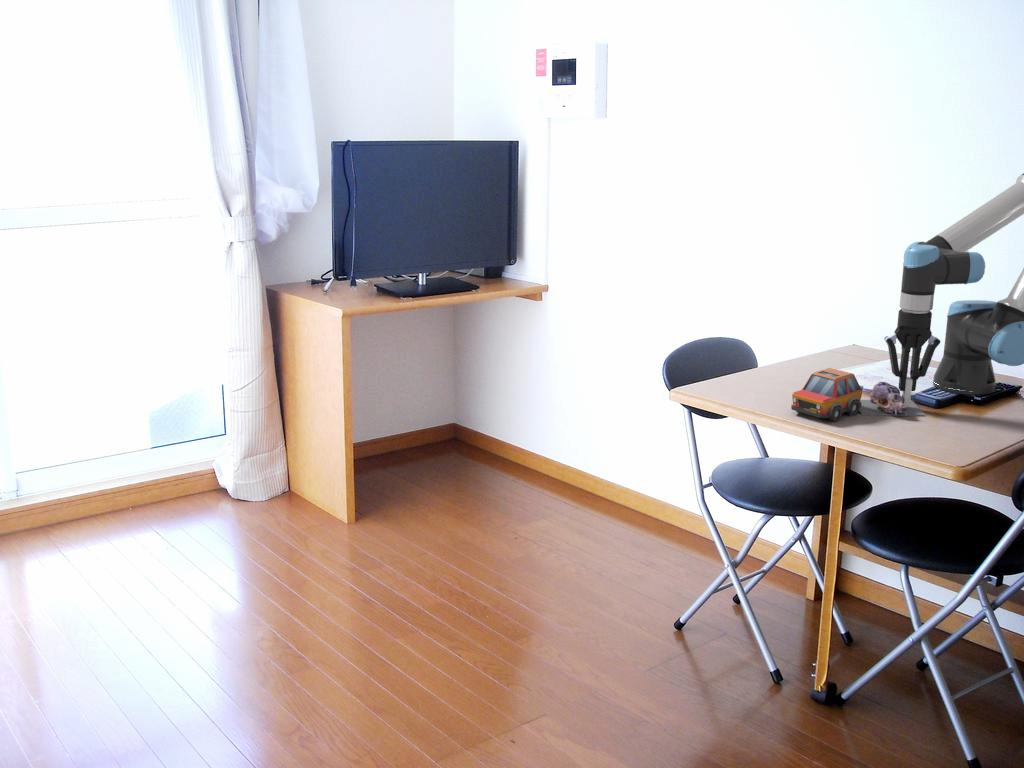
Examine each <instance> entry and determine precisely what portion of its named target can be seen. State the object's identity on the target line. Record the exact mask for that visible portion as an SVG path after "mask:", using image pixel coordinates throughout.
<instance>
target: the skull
mask: <svg viewBox="0 0 1024 768" xmlns="http://www.w3.org/2000/svg"><path fill="white" fill-rule="evenodd" d="M869 397H870V399H869V400H870V401H871V402H872V403H874V404H877V405H878V406H880V407H881V408H883V409H884V411H886V412H890V413H892V414H893V411H895V414H897V411H899V413H906V415H907V411H908V407H907V406H906V405H904V404H903V401H902V399H901V391H900V390H899V387H897V386H895V385H893V384H890V383H889V382H887V381H879V382H878V383H876V384H875V385H874V386H873V388H872V390H871V391H870V393H869Z"/></svg>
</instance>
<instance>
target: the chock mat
mask: <svg viewBox="0 0 1024 768" xmlns="http://www.w3.org/2000/svg"><path fill="white" fill-rule="evenodd" d="M860 402H861V403H862V404H861V407H860V408H859V410H858V413H860V415H861V416H889V417H890V416H892V417H893V416H895V417H897V416H898V417H926V413H924V412H923V411H922V410H921V409H920V407H918V405H917V404H916V403H915V402H914V401H913V400H910V405H906V406H907V407H908V411H907V415H906V413H899V411H897V414H895V411H893V414H892V413H890V412H886V411H884V409H883V408H881V407H880V406H878V405H877V404H874V403H872V402H871V401H870V399H861V400H860Z"/></svg>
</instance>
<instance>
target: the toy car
mask: <svg viewBox="0 0 1024 768" xmlns="http://www.w3.org/2000/svg"><path fill="white" fill-rule="evenodd" d="M863 389H864V386H863V385H860V383H859V381H858V379H857V377H856V375H855V374H854V373H852V372H848V371H843V370H840V369H836V368H831V367H828V368H824V369H820V370H818V371H814V372H813V373H812V374H810V376H809V378H808V379H807V381H806V383H805V384H804V386H803V387H802V388H801V389H800V390H797V391H794V392H792V393H791V397H792V400H791V401H792V404H791V406H790V407H791V408H790V409H791V411H792V410H793V411H795V412H799V413H802V414H806V415H809V416H813V417H816V418H819V419H828V418H829V420H830V421H831V422H833V423H835V422H838V421H839V420H840V419H841V417H842V415H843V413H847V415H849V416H856V415H857V413H859V411H858V410H859V408H860V407H861V404H862V403H861V402H860V400H862V395H863Z"/></svg>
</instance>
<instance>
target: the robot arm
mask: <svg viewBox="0 0 1024 768" xmlns="http://www.w3.org/2000/svg"><path fill="white" fill-rule="evenodd" d="M1023 215H1024V173H1021V174H1020V175H1019V176H1018V177H1017V178H1016V182H1015V183H1014V184H1013V185H1011V186H1009V187H1008V188H1006V189H1005V190H1003V191H1002V192H1000V193H999V194H997V195H995V197H993V198H991V199H990V200H988V201H986V202H985V203H984V204H982V205H980V206H979V207H977V208H976V209H975V210H973V211H971V212H970V213H968V214H967V215H965V216H964V217H962V218H961V219H959V220H957V221H956V222H955V223H953V224H951V225H950V226H949V227H947V228H945V229H944V230H943V231H941V232H939V233H937V234H936V235H935V236H933V237H931V238H930V239H929V240H927V241H915V242H912V243H911V244H909V245H908V246H907V247H906V249H905V251H904V254H903V263H902V266H903V268H902V279H901V289H900V296H899V297H900V299H899V305H898V306H899V308H900V309H899V310H898V315H897V316H898V317H897V325H896V326H897V327H896V329H895V330H894V333H892V334H890V335H889V336H888V335H887V336H885V337H884V338H883V339H884V342H885V343H886V344H887V347H888V354H889V355H888V356H889V361H890V366H891V372H892V374H893V375H894V376H895V377H898V389H899V391H900V392H901V395H900V397H901V399H902V401H903V404H904V405H910V400H911V398H912V392H915V391H916V389H917V381H918V380H919V378H924V377H925V376H926V374H927V373H928V369H929V367H930V364H931V361H932V360H933V359H932V358H933V356H934V353H935V352H936V349H937V348H938V346H939V345H940V344H941V339H939V338H938V337H937V336H934V335H933V332H932V331H931V325H932V318H933V317H932V316H933V313H932V310H934V309H933V308H934V300H935V299H934V297H935V292H936V291H935V289H936V286H940V285H941V286H942V285H963V284H964V285H968V284H975V283H978V282H980V281H981V280H982V279H983V277H984V275H985V273H986V272H985V271H986V262H985V258H984V257H983V255H982V254H981V253H979V252H977V251H969V250H970V249H972V248H973V247H975V246H977V245H978V244H980V243H982V242H983V241H984V240H986V239H988V238H989V237H991V236H992V235H994V234H995V233H997V232H999V231H1000V230H1002V229H1003V228H1005V227H1006V226H1008V225H1009V224H1010V223H1013V221H1015V220H1017V219H1018V218H1020V217H1022V216H1023ZM946 317H947V319H946V329H945V337H944V347H943V348H944V349H943V354H942V355H943V356H942V358H941V360H940V361H939V364H938V366H937V368H936V370H935V373H934V375H933V381H932V384H933V386H934V387H936V388H937V389H939V390H940V391H941V390H942V391H946V392H948V393H954V394H961V395H972V396H973V395H975V396H976V395H987V394H991V393H994V392H995V390H996V384H997V380H996V376H995V372H994V367H993V363H992V361H993V362H995V363H997V364H1000V365H1006V366H1008V367H1018V366H1019V367H1020V366H1021V365H1024V267H1023V269H1022V270H1021V272H1020V274H1019V276H1018V278H1017V279H1016V281H1015V283H1014V284H1013V287H1012V288H1011V290H1010V292H1009V294H1008V296H1007V297H1005V298H1003V299H1000V300H998V301H994V300H985V299H983V300H982V299H981V300H980V299H979V300H978V299H973V300H972V299H968V300H956V301H953V302H952V303H950V305H949V307H948V311H947V315H946ZM897 341H898V342H899V343H900V345H901V348H900V349H901V354H900V365H899V361H898V360H899V359H898V354H897V347H896V345H895V344H896V343H897ZM926 343H927V345H926V347H925V350H924V353H923V356H922V359H920V358H921V353H922V349H923V346H924V345H925V344H926ZM910 354H911V361H910ZM920 361H921V362H920ZM909 362H910V367H909ZM909 368H910V370H909ZM908 370H909V371H908ZM908 372H909V376H908ZM934 382H935V383H937V384H939V385H940V386H939V385H937V384H935V383H934ZM945 387H946V388H945ZM948 388H953V389H960V390H966V391H959V390H953V389H948ZM969 391H973V392H969ZM911 401H912V400H911Z"/></svg>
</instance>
